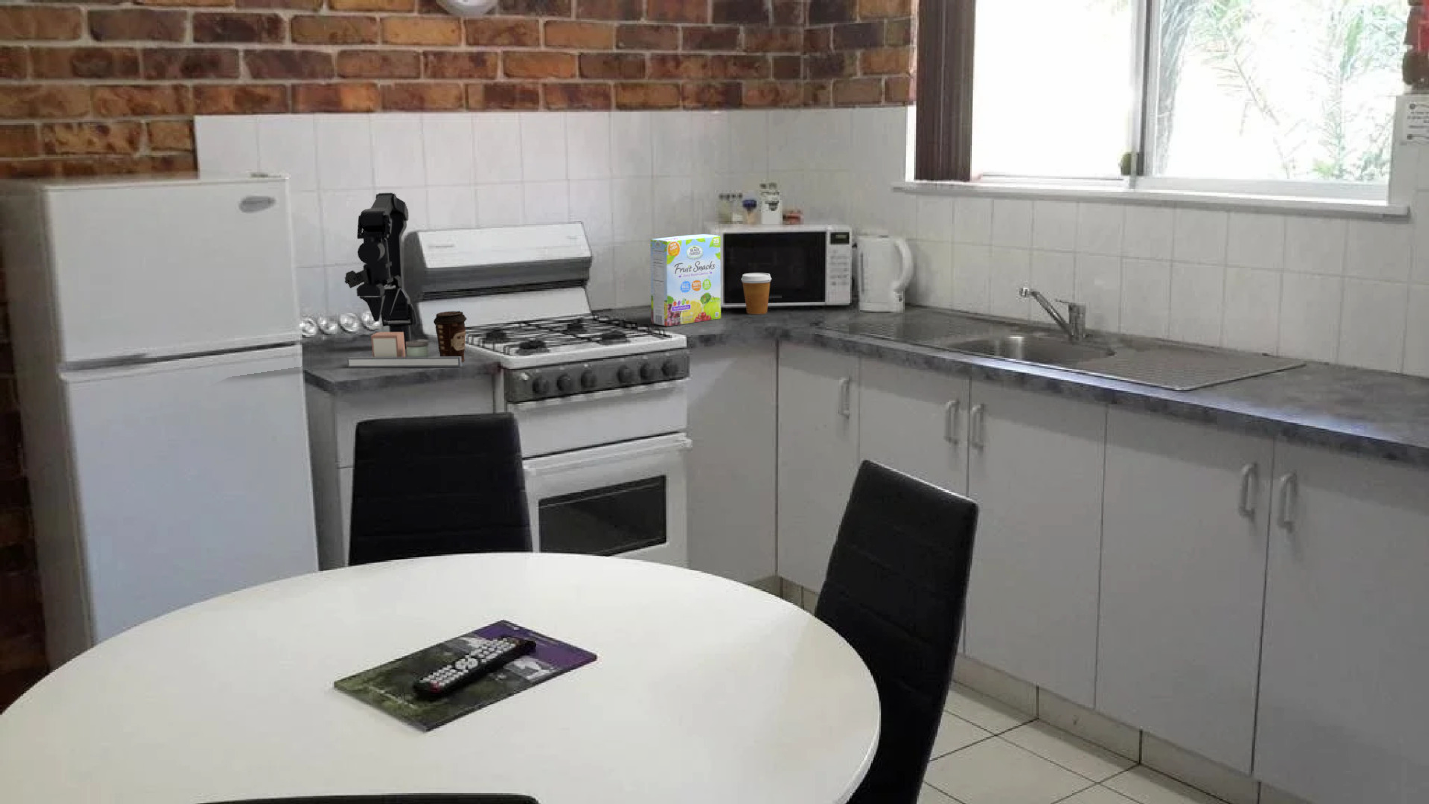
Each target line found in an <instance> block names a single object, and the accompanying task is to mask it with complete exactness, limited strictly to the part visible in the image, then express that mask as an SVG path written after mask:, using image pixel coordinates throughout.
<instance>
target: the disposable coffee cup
mask: <svg viewBox="0 0 1429 804" xmlns="http://www.w3.org/2000/svg"><path fill="white" fill-rule="evenodd" d="M740 280H741V282H742V287H743V295H744V300H745V307H746V308H745V309H746V314H749V315H764V314H767V313H768V307H769V297H770V296H769V295H770V288H771V281H772V277H771V274H770V273H766V272H749V273H744V274H742V277H741V279H740Z"/></svg>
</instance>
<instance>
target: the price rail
mask: <svg viewBox="0 0 1429 804" xmlns="http://www.w3.org/2000/svg"><path fill="white" fill-rule="evenodd" d="M346 362H347V368H461V367H463V362H462V360H461V356H442V357H440V356H429V357H407V356H405V357H373V356H348V357H347V358H346Z"/></svg>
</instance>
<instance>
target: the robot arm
mask: <svg viewBox="0 0 1429 804" xmlns="http://www.w3.org/2000/svg"><path fill="white" fill-rule="evenodd" d="M408 221H409V209H408V206H407V204H406V202H405V201H404V200H402V199H400V198H399V197H397V194H396V193H393V192H379V193H376V194H375V200H374V202H373V203H372V205H371V207H370V208H367V209H363V210H362V211H361V212H360V214H359V215H358V218H357V232H356V235H357V236H356V238H357V239H358V240H362V241H363V243H361V244H360V245H359V247H358V248H357V257H358V258H359V261H361V262H362V263H364V264H363V266H362V267H363V268H362V270H360V271H357V272H356V271H354V270H350V271H347V272H346V273H345V276H344V284H347V285H348V287H349V289H352V288H355V287H356V296H357V297H359V299H360V300H363V301H364V302H365V303H366V304H367V306H368V308H369V311H370V313H371V316H372V319H373V321H374V322H375V323H377V322H380V319H381V322H382V323H381V324H382V327H388V332H404V344H405V349H407V348H406V341H410V340H412V338H411V326H416V325H418V322H417V315H416V310H415V307H414V306H413V304H412V303H411V297H410V296H409V294H408V293H407V291H406V290H405V286H404V284H405V283H404V282H405V281H404V262H403V242H402V236H403V234H404V232H405V231H406V229H407V227H408V223H407V222H408Z"/></svg>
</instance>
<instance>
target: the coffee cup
mask: <svg viewBox="0 0 1429 804" xmlns="http://www.w3.org/2000/svg"><path fill="white" fill-rule="evenodd" d="M467 319H468V318H467V317H466V316H465V314H464V312H463V311H461V310H457V311H456V310H455V311H454V310H451V311H442V312H438V313H436V315H435V318H434V319H433V324H434V325H435V331H436V337H437V344H438V345H437V346H438V351H439V352H438V353H439V357H442V356H461V360H462V363H463V362H465V350H466V333H467V332H466V324H465V322H466V321H467Z"/></svg>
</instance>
